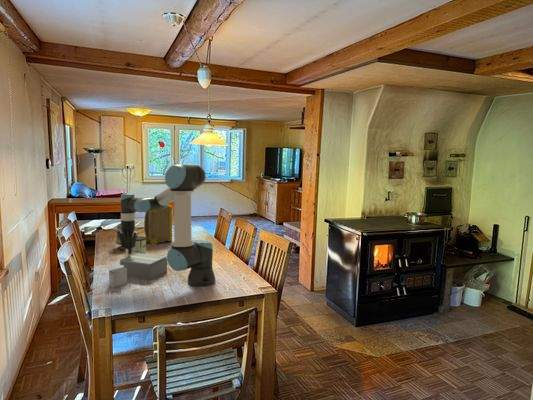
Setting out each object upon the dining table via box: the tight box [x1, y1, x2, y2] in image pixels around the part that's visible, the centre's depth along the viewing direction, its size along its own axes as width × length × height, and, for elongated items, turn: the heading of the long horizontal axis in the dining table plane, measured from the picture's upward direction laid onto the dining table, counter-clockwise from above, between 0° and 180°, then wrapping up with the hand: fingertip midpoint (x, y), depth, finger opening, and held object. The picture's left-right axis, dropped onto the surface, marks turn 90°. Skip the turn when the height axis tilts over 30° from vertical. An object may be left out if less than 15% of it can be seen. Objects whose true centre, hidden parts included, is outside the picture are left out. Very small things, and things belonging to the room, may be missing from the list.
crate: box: [123, 258, 168, 281], centre depth 208 cm, size 18×16×8 cm
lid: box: [119, 253, 167, 266], centre depth 208 cm, size 20×16×3 cm
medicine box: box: [108, 266, 128, 288], centre depth 189 cm, size 8×4×9 cm, turn 141°
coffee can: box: [131, 235, 147, 256], centre depth 238 cm, size 10×10×14 cm
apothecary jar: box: [114, 223, 125, 250], centre depth 264 cm, size 12×12×18 cm
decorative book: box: [143, 204, 173, 246], centre depth 284 cm, size 20×11×30 cm, turn 136°
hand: (128, 259), depth 211 cm, fingers closed
